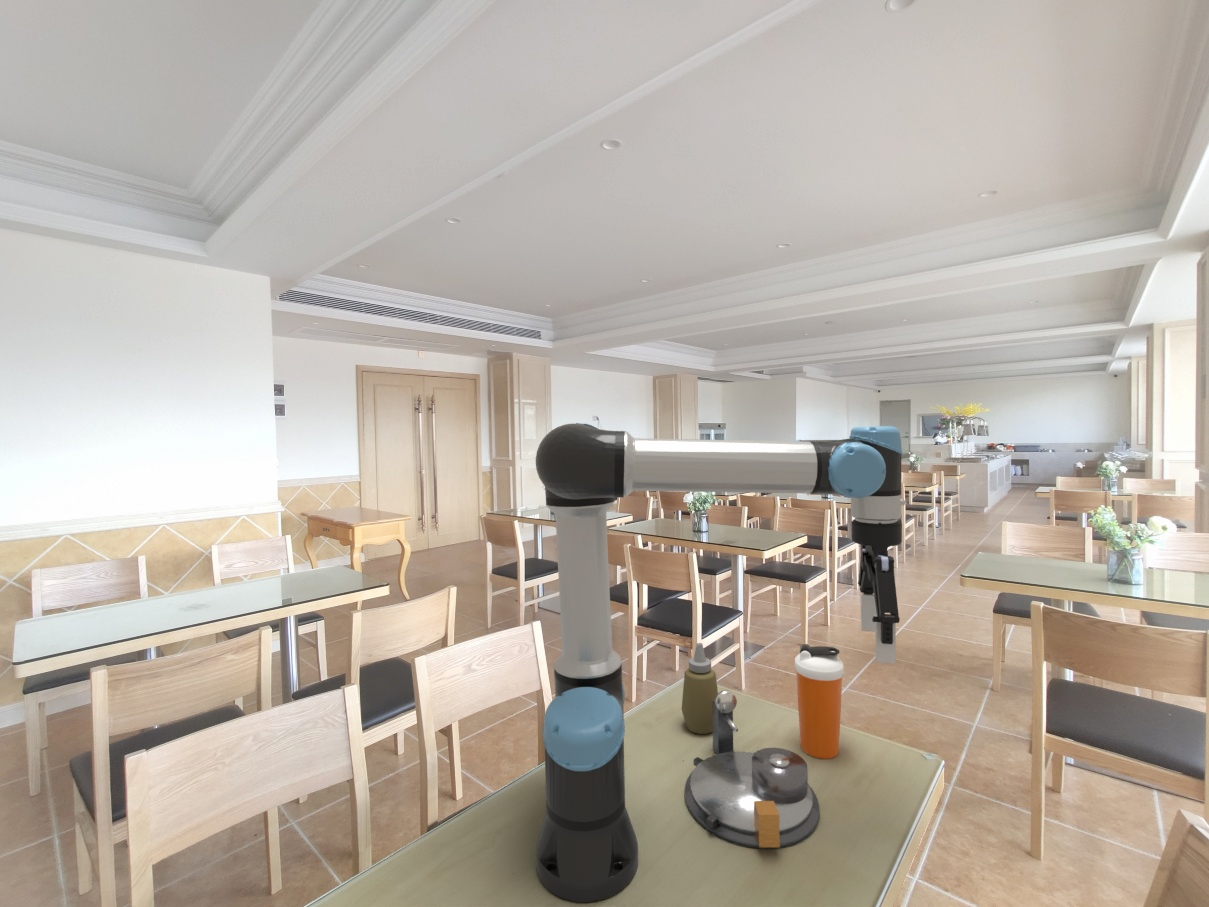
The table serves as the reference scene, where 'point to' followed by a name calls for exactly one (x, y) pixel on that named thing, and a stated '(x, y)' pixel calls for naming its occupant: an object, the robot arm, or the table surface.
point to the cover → (779, 775)
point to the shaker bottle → (819, 699)
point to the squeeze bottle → (699, 693)
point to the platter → (743, 799)
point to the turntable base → (751, 840)
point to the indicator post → (723, 721)
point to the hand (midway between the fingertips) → (876, 645)
